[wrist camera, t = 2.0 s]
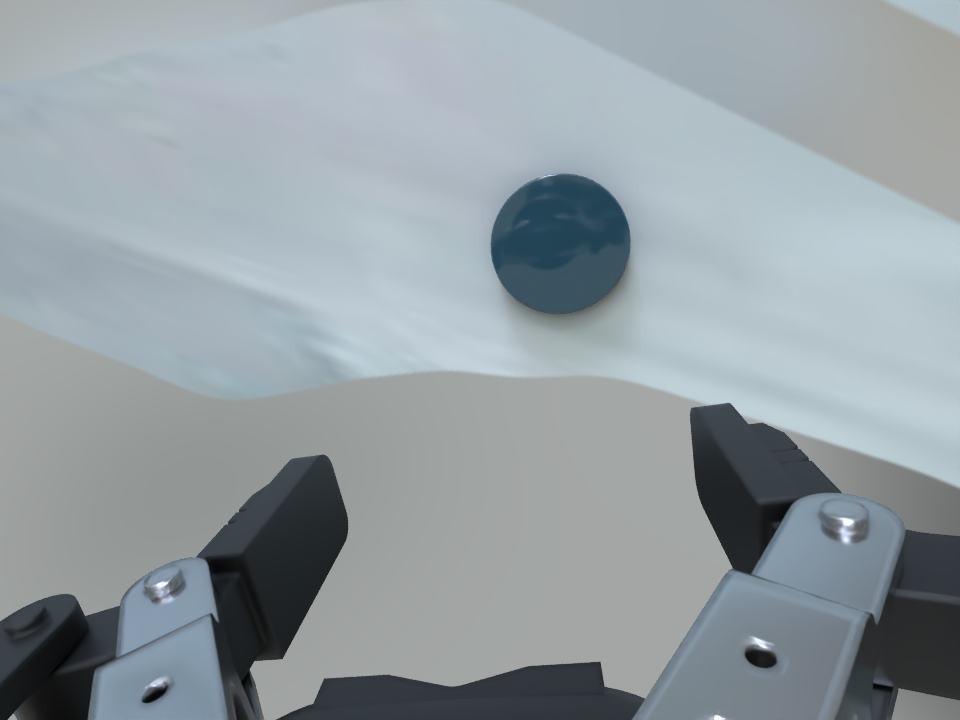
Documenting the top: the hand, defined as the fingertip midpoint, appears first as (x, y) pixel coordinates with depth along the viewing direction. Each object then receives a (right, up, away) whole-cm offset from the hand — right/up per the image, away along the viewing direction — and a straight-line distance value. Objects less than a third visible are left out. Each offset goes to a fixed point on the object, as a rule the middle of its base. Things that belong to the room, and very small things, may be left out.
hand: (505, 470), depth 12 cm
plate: (+4, +9, +17) cm, 19 cm away
